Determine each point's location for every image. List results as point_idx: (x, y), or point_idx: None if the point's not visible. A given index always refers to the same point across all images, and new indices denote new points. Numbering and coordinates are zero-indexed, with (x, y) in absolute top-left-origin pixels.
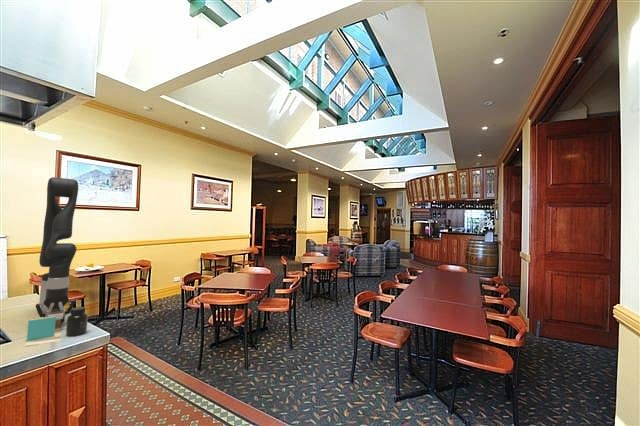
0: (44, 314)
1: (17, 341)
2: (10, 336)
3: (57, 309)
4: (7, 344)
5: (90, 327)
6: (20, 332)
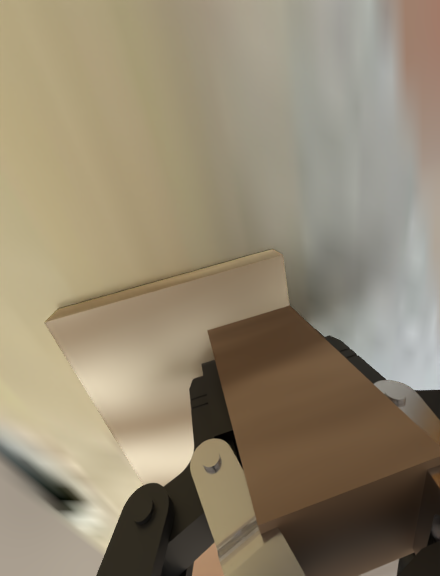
0: (203, 549)
1: (119, 504)
2: (9, 436)
3: (382, 494)
4: (90, 531)
5: (436, 366)
6: (26, 369)
